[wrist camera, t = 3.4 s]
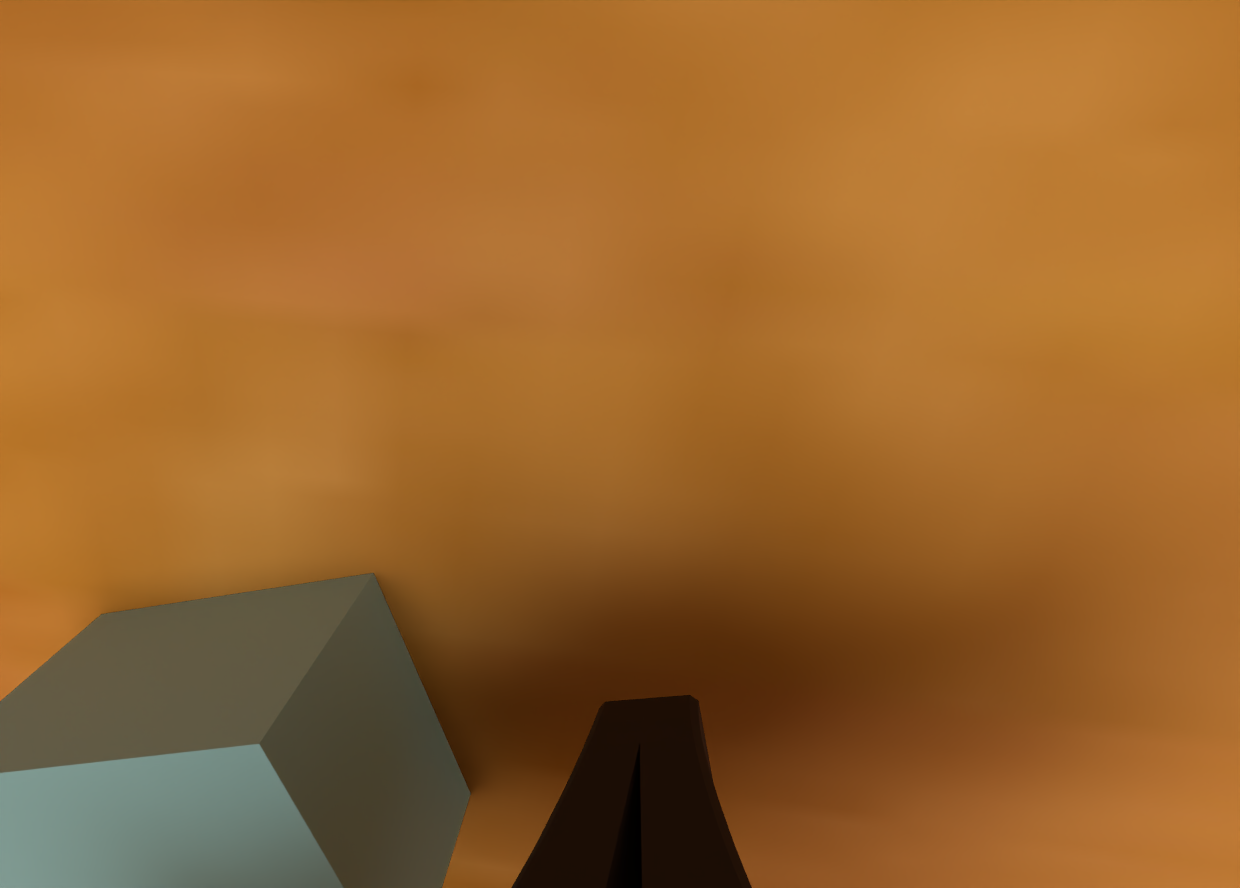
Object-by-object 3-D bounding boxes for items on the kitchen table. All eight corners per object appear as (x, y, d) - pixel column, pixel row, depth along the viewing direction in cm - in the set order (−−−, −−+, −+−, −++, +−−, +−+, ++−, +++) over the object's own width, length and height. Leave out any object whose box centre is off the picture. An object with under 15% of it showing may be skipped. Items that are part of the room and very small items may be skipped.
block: (473, 785, 13) (407, 997, 10) (237, 808, 14) (107, 1011, 11) (377, 566, 11) (259, 743, 8) (109, 607, 12) (-96, 783, 9)
